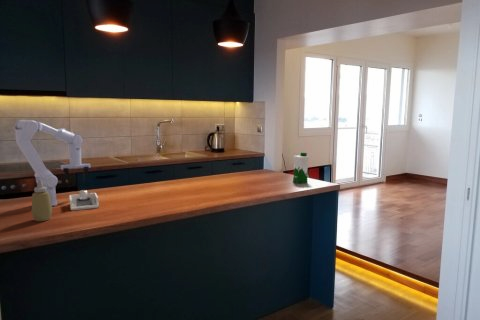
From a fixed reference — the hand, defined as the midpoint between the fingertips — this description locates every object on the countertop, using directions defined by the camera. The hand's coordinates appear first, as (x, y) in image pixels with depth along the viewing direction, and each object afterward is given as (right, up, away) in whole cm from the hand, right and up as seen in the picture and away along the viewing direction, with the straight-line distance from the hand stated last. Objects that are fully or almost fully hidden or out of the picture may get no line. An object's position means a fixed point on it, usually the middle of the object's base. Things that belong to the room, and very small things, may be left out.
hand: (76, 181), depth 197 cm
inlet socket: (+10, -12, -14) cm, 21 cm away
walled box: (+10, -12, -14) cm, 21 cm away
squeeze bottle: (+1, -15, -37) cm, 40 cm away
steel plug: (+10, -11, -14) cm, 21 cm away
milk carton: (+129, -4, +49) cm, 138 cm away
